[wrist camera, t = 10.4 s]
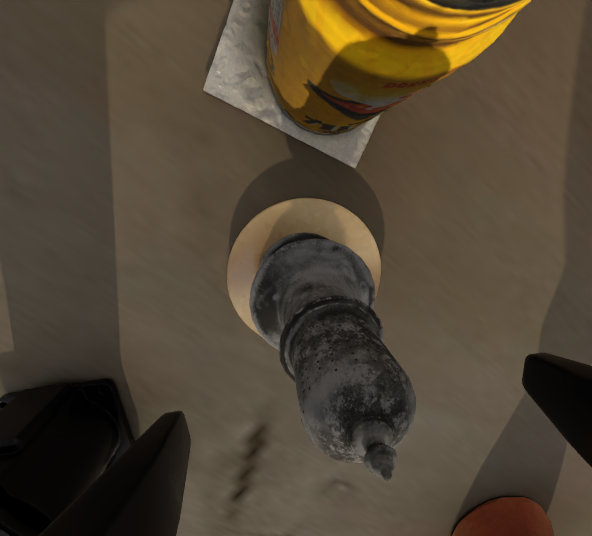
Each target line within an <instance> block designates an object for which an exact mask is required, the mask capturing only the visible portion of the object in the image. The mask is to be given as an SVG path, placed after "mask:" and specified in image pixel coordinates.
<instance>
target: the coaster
mask: <svg viewBox="0 0 592 536" xmlns="http://www.w3.org/2000/svg"><path fill="white" fill-rule="evenodd" d="M303 232H306V233H314V234H318V235H321V236H323V237H325V238H328V239H329V240H332V241H335V242H337V243H340V244H342V245H344V246H347V247H348V248H350V249H351V250H352V251H353V252H355V253H356V254H357V255H358V256H360V257H361V258H362V260H363V261H364V263H365V264H366V265H367V267H368V268H369V270H370V272H371V275H372V278H373V281H374V284H375V297H376V295H377V291H378V288H379V284H380V278H381V261H380V255H379V251H378V247H377V245H376V242H375V239H374V238H373V236H372V234H371V232H370V231H369V229H368V228H367V227H366V225H365V224H364V223H363V222H362V221H361V220H360V219H359V218H358V217H357V216H356V215H355V214H353V213H352V212H351V211H349V210H348V209H346V208H344V207H342V206H341V205H338V204H336V203H333V202H330V201H327V200H323V199H318V198H295V199H289V200H285V201H282V202H279V203H276V204H274V205H272V206H270V207H268V208H266V209H264V210H263V211H261V212H260V213H258V214H257V215H256V216H255V217H254V218H252V219H251V220H250V221H249V222H248V223H247V224H246V226H245V227H244V228H243V229H242V231H241V232H240V234H239V235H238V237H237V238H236V240H235V243H234V245H233V247H232V249H231V252H230V255H229V258H228V264H227V287H228V292H229V295H230V299H231V301H232V304H233V306H234V308H235V310H236V311H237V313H238V315H239V316H240V317H241V319H242V320H243V321H244V322H245V323H246V324H247V325H248V326H249V327H250V328H251V329H252V330H253V331H255V332H256V333H257V334H259V332H258V330H257V328H256V326H255V324H254V322H253V320H252V317H251V312H250V306H249V300H250V291H251V286H252V283H253V281H254V278H255V276H256V273H257V271H258V269H259V265H260V263H261V260H262V258H263V256H264V254H265V253H266V252H267V251H268V249H269V248H270V247H271V246H272V245H273V244H274V243H276V242H277V241H278V240H280V239H281V238H284V237H286V236H289V235H291V234H296V233H303ZM259 335H260V334H259ZM260 336H261V335H260Z"/></svg>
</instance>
